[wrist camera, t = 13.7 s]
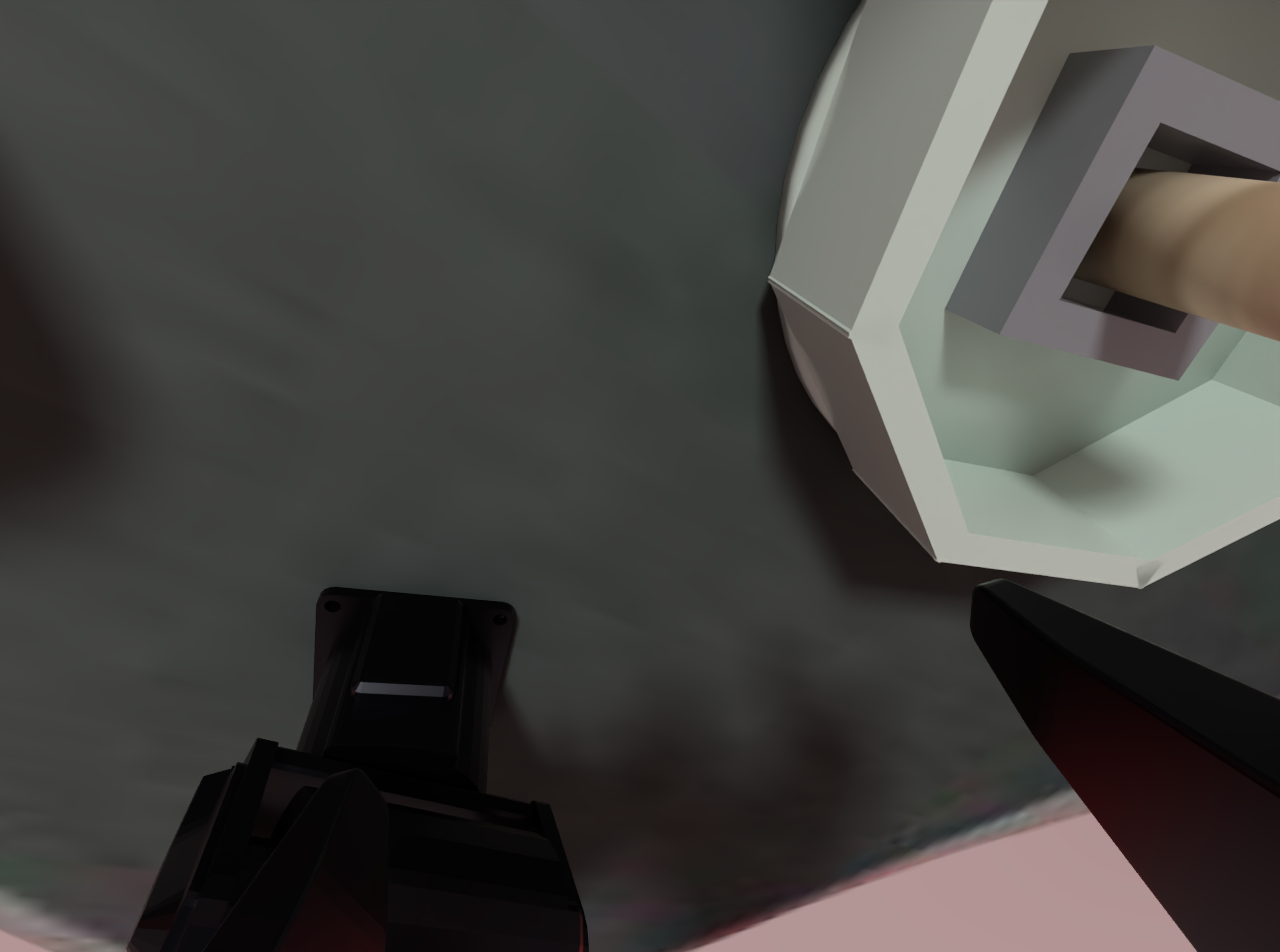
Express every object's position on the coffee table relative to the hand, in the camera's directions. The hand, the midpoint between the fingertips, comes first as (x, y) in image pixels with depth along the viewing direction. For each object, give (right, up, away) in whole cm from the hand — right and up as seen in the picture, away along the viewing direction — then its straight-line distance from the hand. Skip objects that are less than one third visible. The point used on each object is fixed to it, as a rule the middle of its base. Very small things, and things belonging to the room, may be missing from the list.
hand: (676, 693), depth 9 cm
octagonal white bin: (+12, +11, +10) cm, 19 cm away
